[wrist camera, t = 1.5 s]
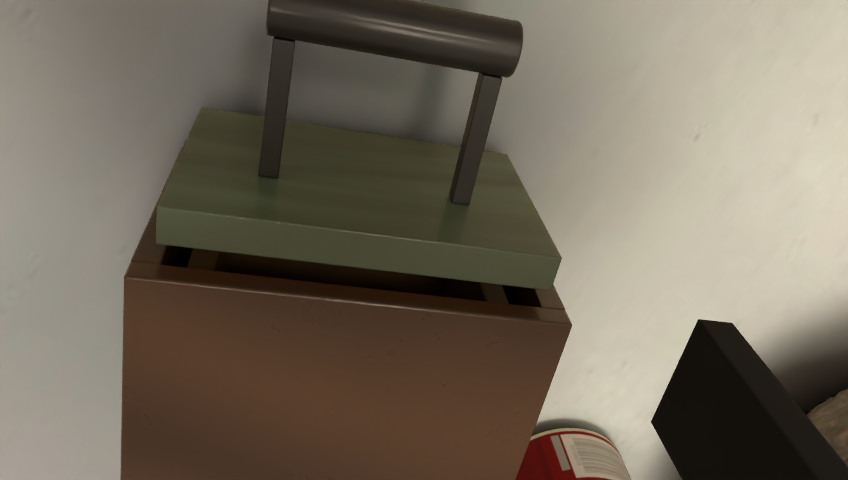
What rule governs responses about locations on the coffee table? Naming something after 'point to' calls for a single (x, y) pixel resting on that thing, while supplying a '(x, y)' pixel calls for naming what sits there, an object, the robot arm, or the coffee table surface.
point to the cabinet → (325, 376)
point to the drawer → (363, 172)
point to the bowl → (833, 422)
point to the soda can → (571, 457)
